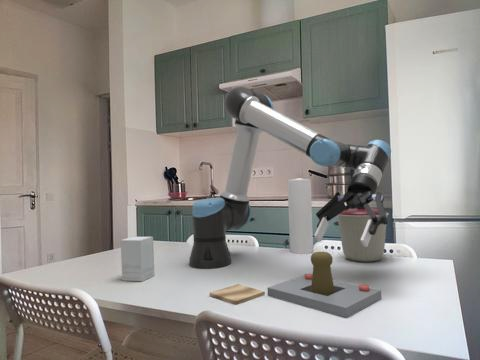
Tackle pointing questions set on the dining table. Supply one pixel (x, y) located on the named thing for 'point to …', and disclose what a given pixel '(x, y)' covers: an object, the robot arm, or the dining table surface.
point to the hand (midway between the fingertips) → (339, 241)
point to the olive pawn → (322, 274)
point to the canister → (360, 235)
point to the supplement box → (137, 258)
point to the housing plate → (339, 303)
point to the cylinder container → (300, 216)
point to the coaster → (237, 294)
